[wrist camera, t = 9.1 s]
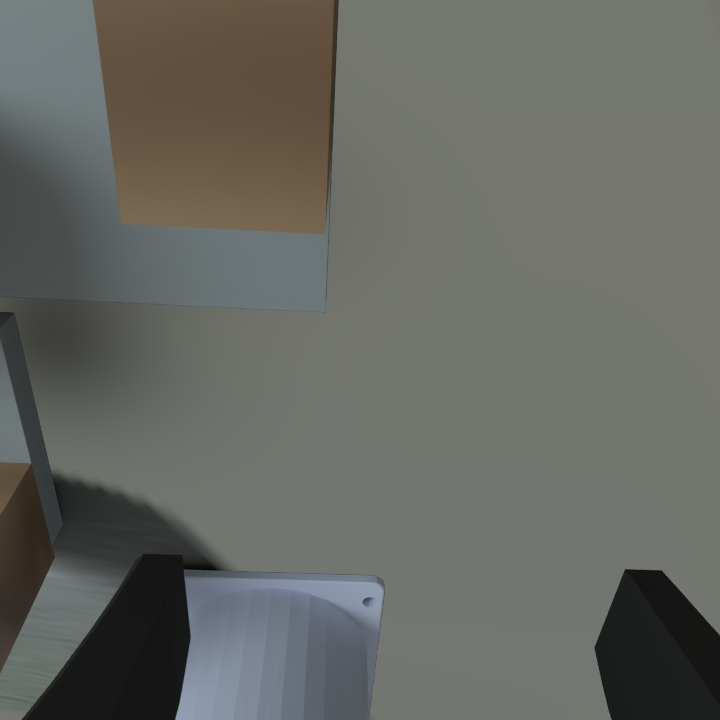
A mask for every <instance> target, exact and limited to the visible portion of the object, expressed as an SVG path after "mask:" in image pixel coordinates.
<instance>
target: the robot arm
mask: <svg viewBox="0 0 720 720" xmlns="http://www.w3.org/2000/svg"><path fill="white" fill-rule="evenodd" d="M384 593H385V591H384V582H383V580H382V579H381V578H379V577H377V576H372V575H343V574H311V573H279V572H247V571H214V570H184V568H183V558H182V555H159V554H143V555H142V556H140V557H139V558H138V559H137V560H136V562H135V563H134V565H133V567H132V568H131V570H130V571H129V573H128V575H127V576H126V578H125V579H124V581H123V583H122V584H121V586H120V587H119V589H118V590H117V592H116V593H115V595H114V596H113V598H112V599H111V601H110V602H109V604H108V605H107V607H106V608H105V610H104V611H103V613H102V614H101V616H100V617H99V618H98V620H97V621H96V623H95V624H94V626H93V627H92V629H91V630H90V631H89V633H88V634H87V636H86V637H85V638H84V640H83V641H82V642H81V644H80V645H79V646H78V648H77V649H76V650H75V652H74V653H73V655H72V656H71V657H70V659H69V660H68V661H67V663H66V664H65V665H64V667H63V668H62V669H61V671H60V672H59V673H58V675H57V676H56V677H55V679H54V680H53V681H52V683H51V684H50V685H49V686H48V688H47V689H46V690H45V692H44V693H43V694H42V695H41V696H40V698H39V699H38V700H37V701H36V703H35V704H34V705H33V706H32V708H31V709H30V710H29V711H28V712H27V714H26V715H25V716H24V717H23V719H22V720H369V715H370V707H371V699H372V690H373V682H374V674H375V666H376V658H377V650H378V641H379V633H380V625H381V617H382V609H383V601H384ZM368 597H372V598H368ZM595 652H596V657H597V662H598V666H599V671H600V675H601V680H602V684H603V689H604V693H605V697H606V701H607V705H608V709H609V713H610V716H611V719H612V720H720V635H719V634H718V633H717V632H716V631H715V630H714V629H713V627H712V626H711V625H710V624H709V623H708V622H707V621H706V620H705V619H704V617H703V616H702V615H701V614H700V613H699V612H698V611H697V609H696V608H695V607H694V606H693V605H692V604H691V603H690V602H689V601H688V599H687V598H686V597H685V596H684V595H683V594H682V593H681V591H680V590H678V588H677V587H676V586H675V585H674V584H673V583H672V581H671V580H670V579H669V578H668V577H667V576H666V575H665V574H664V573H663V572H662V571H661V570H660V571H659V570H630V569H625V571H624V574H623V576H622V579H621V581H620V584H619V586H618V589H617V592H616V594H615V597H614V599H613V602H612V604H611V607H610V609H609V612H608V615H607V617H606V620H605V622H604V625H603V627H602V630H601V632H600V635H599V637H598V640H597V643H596V645H595Z"/></svg>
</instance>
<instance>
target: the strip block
mask: <svg viewBox="0 0 720 720" xmlns="http://www.w3.org/2000/svg"><path fill="white" fill-rule="evenodd" d="M337 26H338V0H0V297H15V298H35V299H55V300H77V301H96V302H97V301H98V302H117V303H139V304H158V305H159V304H160V305H179V306H200V307H221V308H241V309H262V310H281V311H282V310H283V311H303V312H323V313H325V308H326V290H327V268H328V266H327V265H328V243H329V217H330V195H331V170H332V147H333V123H334V98H335V74H336V49H337Z"/></svg>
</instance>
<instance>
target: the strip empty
mask: <svg viewBox="0 0 720 720" xmlns="http://www.w3.org/2000/svg"><path fill="white" fill-rule="evenodd" d="M62 525H63V522H62V517H61V513H60V509H59V504H58V500H57V496H56V491H55V487H54V483H53V478H52V474H51V470H50V465H49V461H48V457H47V453H46V448H45V444H44V440H43V435H42V431H41V426H40V422H39V418H38V413H37V409H36V405H35V400H34V396H33V392H32V388H31V383H30V379H29V374H28V370H27V366H26V361H25V357H24V353H23V349H22V344H21V340H20V336H19V331H18V327H17V322H16V318H15V314H14V313H10V312H9V313H8V312H0V673H1V670H2V668H3V666H4V664H5V662H6V660H7V658H8V656H9V653H10V651H11V649H12V647H13V645H14V643H15V641H16V639H17V636H18V634H19V632H20V630H21V628H22V626H23V624H24V622H25V619H26V617H27V615H28V613H29V611H30V609H31V607H32V605H33V603H34V600H35V598H36V596H37V594H38V592H39V590H40V588H41V586H42V583H43V581H44V579H45V577H46V575H47V573H48V571H49V569H50V566H51V564H52V562H53V560H54V558H55V557H54V553H53V549H52V546H53V544H54V542H55V540H56V537H57V535H58V533H59V531H60V529H61V527H62Z"/></svg>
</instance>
